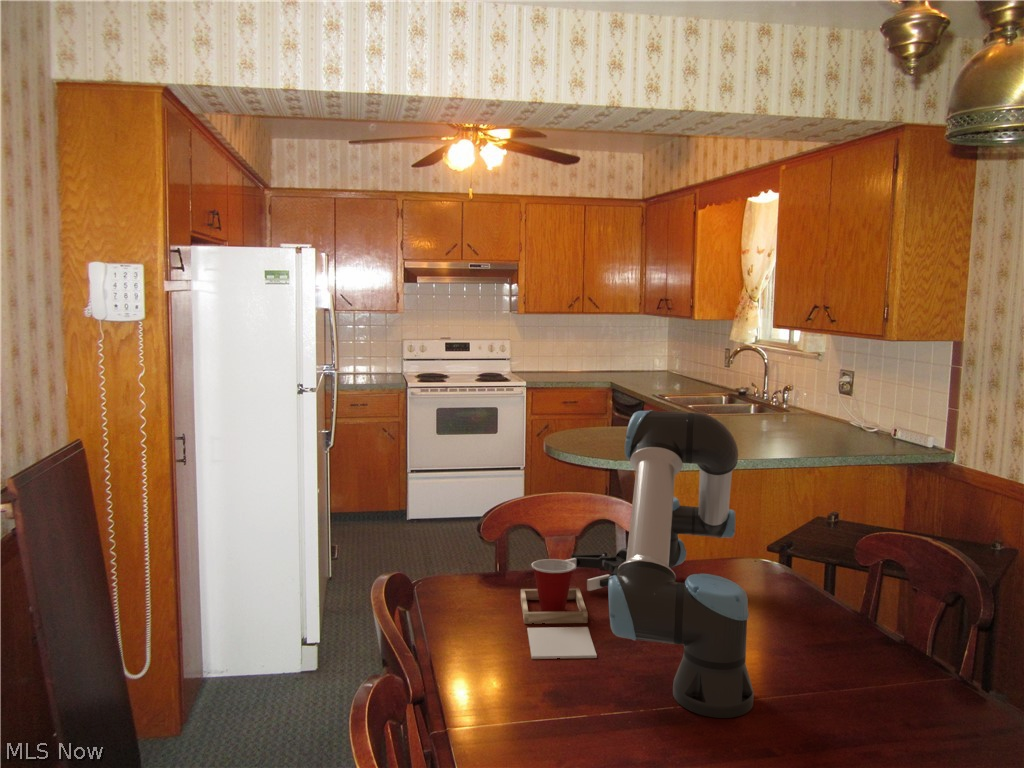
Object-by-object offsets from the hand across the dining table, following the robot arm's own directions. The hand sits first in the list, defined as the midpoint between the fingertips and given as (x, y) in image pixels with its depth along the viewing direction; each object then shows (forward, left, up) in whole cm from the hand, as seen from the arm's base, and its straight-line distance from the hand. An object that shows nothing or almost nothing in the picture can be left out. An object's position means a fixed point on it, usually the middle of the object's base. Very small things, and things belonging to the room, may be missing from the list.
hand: (570, 576), depth 194 cm
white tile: (-21, +5, -7) cm, 23 cm away
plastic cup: (-3, +5, -8) cm, 10 cm away
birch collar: (-3, +5, -7) cm, 9 cm away
